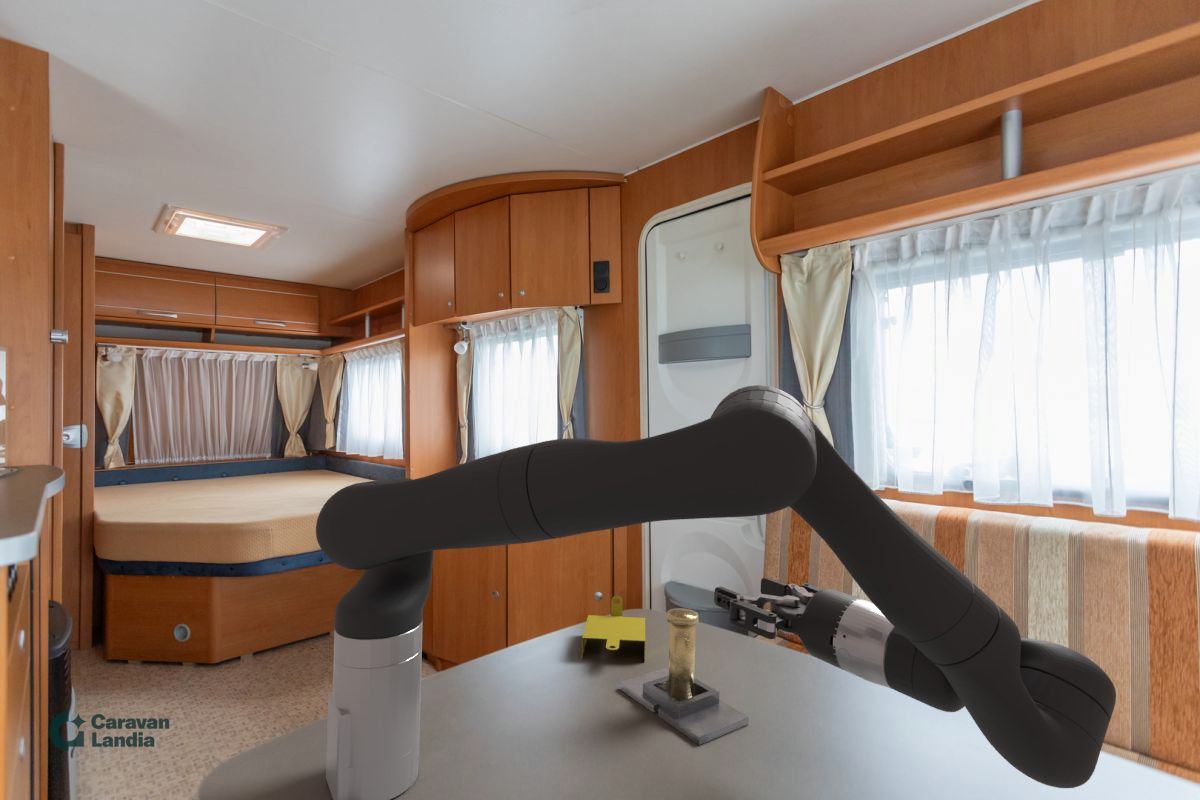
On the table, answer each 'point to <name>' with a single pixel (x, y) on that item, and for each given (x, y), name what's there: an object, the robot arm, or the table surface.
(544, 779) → the table surface
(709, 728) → the grey socket base plate
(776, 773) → the table surface
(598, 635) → the bracket
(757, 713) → the table surface
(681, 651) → the hinge pin
